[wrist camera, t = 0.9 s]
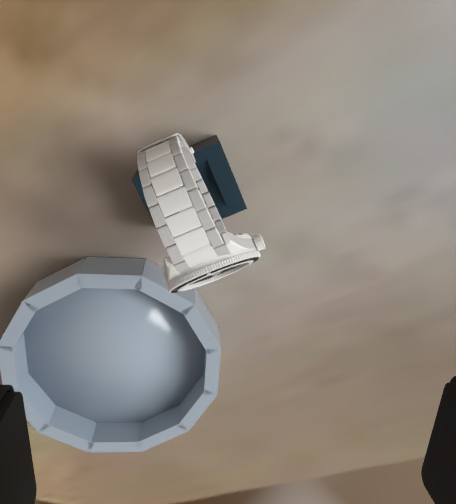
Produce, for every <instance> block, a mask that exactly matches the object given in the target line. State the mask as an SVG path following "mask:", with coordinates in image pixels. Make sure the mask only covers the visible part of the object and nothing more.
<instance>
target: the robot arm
mask: <svg viewBox="0 0 456 504" xmlns="http://www.w3.org/2000/svg"><path fill="white" fill-rule="evenodd" d="M421 473H422V480H423V483H424V486H425V488H426V489H427V491H428V493H429V494H430V496H431V498H432V499H433V501H434V503H435V504H456V376H454V377H453V378H452V379H451V381H450V383H447V384H446V385H445V387H444V391H443V394H442V398H441V401H440V405H439V409H438V412H437V416H436V419H435V423H434V427H433V430H432V434H431V437H430V441H429V445H428V448H427V452H426V455H425V459H424V463H423V466H422V472H421ZM35 498H36V481H35V475H34V468H33V461H32V454H31V448H30V441H29V434H28V428H27V421H26V414H25V408H24V401H23V396H22V393H21V392H14V388H13V387H12V385H0V504H34V503H35Z"/></svg>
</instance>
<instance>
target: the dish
mask: <svg viewBox="0 0 456 504" xmlns="http://www.w3.org/2000/svg"><path fill="white" fill-rule="evenodd" d="M167 287H168V285H167V282H166V280H165V277H164V274H163V268H162V267H160V266H158V265H156V264H154V263H153V262H151V261H149V260H147V259H139V258H111V257H85V258H83V259H81V260H79V261H77V262H75V263H73V264H71V265H69V266H67V267H65V268H63V269H61V270H59V271H57V272H55V273H53V274H51V275H49V276H47V277H45V278H43V279H41V280H39V281H37V282H36V284H35V285H34V286H33V288H32V289H31V290H30V292H29V293H28V294H27V296H26V297H25V298H24V300H23V301H22V303H21V305H20V306H19V308H18V310H17V311H16V313H15V315H14V317H13V318H12V320H11V322H10V324H9V325H8V327H7V329H6V331H5V332H4V334H3V336H2V338H1V339H0V371H1V378H2V385H12V387H13V388H14V392H21V393H22V396H23V401H24V408H25V414H26V419H27V421H28V422H29V423H30V424H31V425H32V426H33V427H34V428H35V429H36V430H37V432H39V433H41V434H43V435H46V436H48V437H51V438H53V439H56V440H58V441H61V442H63V443H66V444H68V445H71V446H73V447H76V448H78V449H81V450H83V451H86V452H143V451H145V450H147V449H149V448H152V447H154V446H156V445H158V444H161V443H163V442H165V441H167V440H170V439H172V438H174V437H177V436H179V435H181V434H183V433H186V432H188V431H189V430H190V428H191V427H192V426H193V425H194V423H195V422H196V421H197V420H198V418H199V417H200V416H201V415H202V413H203V412H204V411H205V410H206V408H207V407H208V406H209V405H210V403H211V402H212V401H213V400H214V398H215V397H216V396H217V394H218V381H219V369H220V357H221V344H220V336H219V327H218V326H217V324H216V322H215V321H214V319H213V317H212V315H211V314H210V312H209V310H208V309H207V307H206V305H205V303H204V302H203V300H202V298H201V297H200V295H199V293H198V291H197V290H196V288H193V289H189V290H185V291H181V292H177V293H169V292H168V289H167Z"/></svg>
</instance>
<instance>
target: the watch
mask: <svg viewBox="0 0 456 504" xmlns="http://www.w3.org/2000/svg"><path fill="white" fill-rule="evenodd" d="M137 164H138V170H137V172H136V173H135V175H134V177H133V178H132V181H133V183H134V184H135V186H136V188H137V190H138V192H139V194H140V196H141V198H142V200H143V202H144V204H145V206H146V208H147V210H148V212H149V214H150V216H151V218H152V220H153V222H154V224H155V227H156V228H157V230H158V233H159V235H160V238H161V240H162V242H163V245H164V247H166V250H167V252H168V254H169V257H166V258H164V267H163V274H164V277H165V280H166V282H167V285H168V287H167V289H168V292H169V293H177V292H181V291H185V290H189V289H193V288H196V287H199V286H202V285H205V284H208V283H210V282H213V281H215V280H218V279H220V278H223V277H225V276H228V275H230V274H232V273H234V272H237V271H239V270H241V269H243V268H245V267H246V266H248V265H250V264H252V263H253V262H255V261H257V260H258V259H259V258H260V257H261V255H260V253H259V251H260V250H262V249H265V244H264V241H263V239H262V237H261V235H260V234H258V235H256V236H253V240H252V238H251V237H250V236H249V235H248V234H243V233H236V234H232V233H230V232H227V231H226V229H225V226H224V224H223V222H222V220H221V219H223V218H225V217H228V216H230V215H232V214H235V213H237V212H240V211H242V210H244V209H247V208H246V205H245V203H244V200H243V198H242V195H241V193H240V190H239V188H238V185H237V183H236V181H235V178H234V176H233V173H232V171H231V168H230V166H229V163H228V161H227V158H226V156H225V154H224V151H223V149H222V146H221V144H220V141H219V139H218V137H217V135H215V136H213V137H211V138H208V139H206V140H204V141H201V142H199V143H197V144H195V145H192V146H190V147H189V146H188V144H187V143H186V141H185V139H184V138H183V137H182V135H181V134H179V133H176V134H173V135H171V136H168V137H166V138H163V139H161V140H159V141H156V142H154V143H152V144H150V145H147V146H145V147H143V148H141V149H139V150H138V151H137ZM216 221H217V222H216ZM256 249H257V250H258V251H256Z"/></svg>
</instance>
